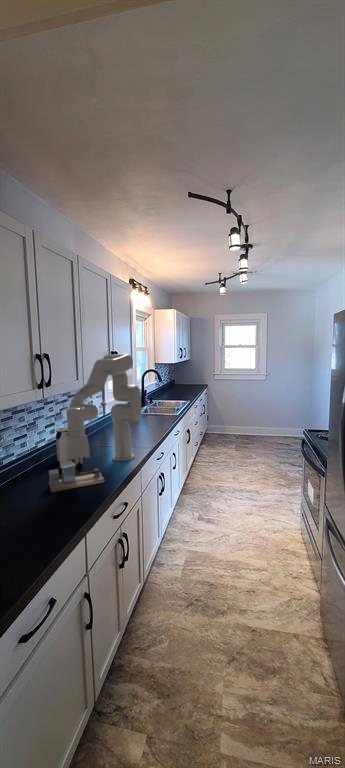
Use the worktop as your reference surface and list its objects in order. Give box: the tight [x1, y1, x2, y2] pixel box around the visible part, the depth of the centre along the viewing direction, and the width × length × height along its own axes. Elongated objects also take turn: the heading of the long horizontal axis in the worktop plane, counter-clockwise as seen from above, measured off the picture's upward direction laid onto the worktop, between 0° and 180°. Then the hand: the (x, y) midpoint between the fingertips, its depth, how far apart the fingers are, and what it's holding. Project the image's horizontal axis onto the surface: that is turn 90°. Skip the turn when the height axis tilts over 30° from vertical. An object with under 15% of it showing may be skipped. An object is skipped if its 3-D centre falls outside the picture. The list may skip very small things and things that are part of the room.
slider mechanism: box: [48, 467, 106, 493], centre depth 164 cm, size 10×24×8 cm, turn 114°
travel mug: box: [55, 427, 68, 462], centre depth 199 cm, size 8×8×18 cm
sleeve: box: [61, 463, 76, 484], centre depth 162 cm, size 6×5×7 cm
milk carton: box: [59, 432, 79, 469], centre depth 187 cm, size 7×7×19 cm
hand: (79, 471), depth 164 cm, fingers closed
